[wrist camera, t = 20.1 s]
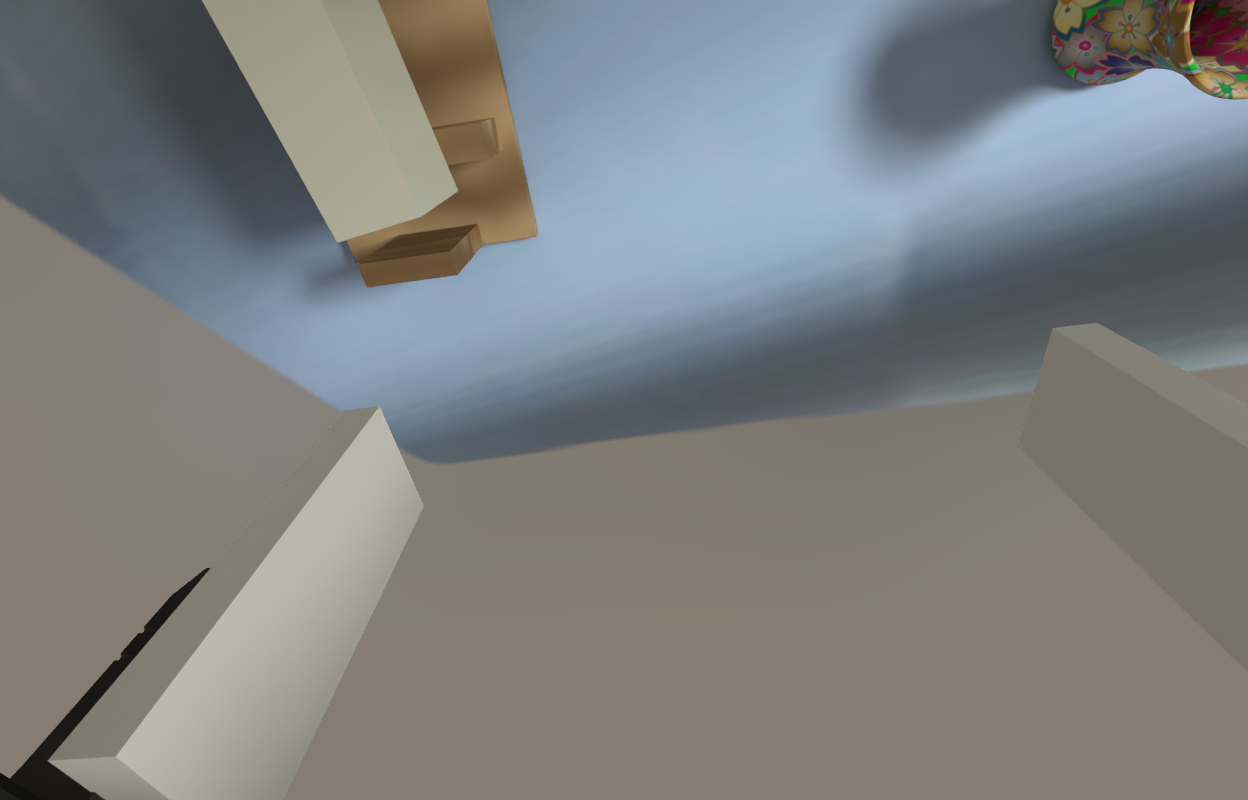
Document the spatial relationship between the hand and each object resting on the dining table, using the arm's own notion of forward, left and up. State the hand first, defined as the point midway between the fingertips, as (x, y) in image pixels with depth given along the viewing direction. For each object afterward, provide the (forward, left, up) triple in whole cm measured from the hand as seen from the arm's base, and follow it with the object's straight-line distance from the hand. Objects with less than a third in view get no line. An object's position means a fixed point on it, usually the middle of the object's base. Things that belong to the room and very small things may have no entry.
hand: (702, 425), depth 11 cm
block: (-9, -16, -27) cm, 32 cm away
